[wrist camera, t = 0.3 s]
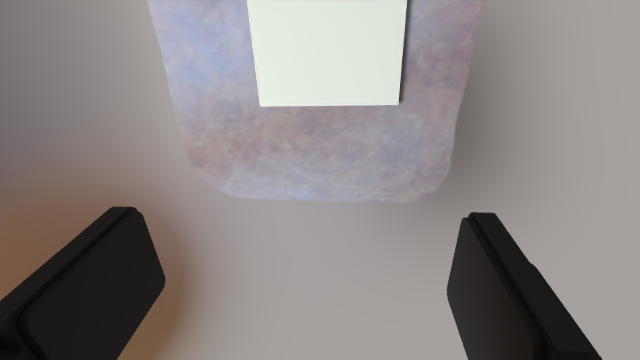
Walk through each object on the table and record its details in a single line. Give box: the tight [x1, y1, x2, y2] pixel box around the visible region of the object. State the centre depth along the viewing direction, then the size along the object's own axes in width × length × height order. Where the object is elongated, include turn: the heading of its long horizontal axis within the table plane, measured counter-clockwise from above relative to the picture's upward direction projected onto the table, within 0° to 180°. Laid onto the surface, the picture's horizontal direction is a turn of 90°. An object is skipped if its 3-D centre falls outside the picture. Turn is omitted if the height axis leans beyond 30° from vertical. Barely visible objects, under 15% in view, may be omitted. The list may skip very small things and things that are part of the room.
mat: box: [247, 0, 407, 106], centre depth 33 cm, size 16×16×1 cm
